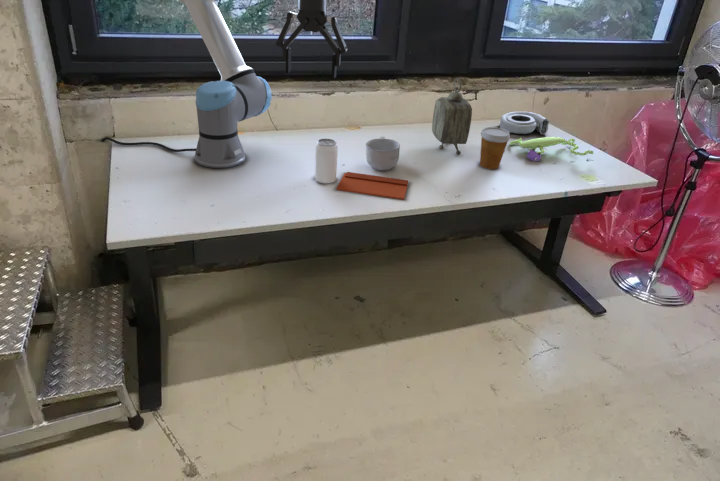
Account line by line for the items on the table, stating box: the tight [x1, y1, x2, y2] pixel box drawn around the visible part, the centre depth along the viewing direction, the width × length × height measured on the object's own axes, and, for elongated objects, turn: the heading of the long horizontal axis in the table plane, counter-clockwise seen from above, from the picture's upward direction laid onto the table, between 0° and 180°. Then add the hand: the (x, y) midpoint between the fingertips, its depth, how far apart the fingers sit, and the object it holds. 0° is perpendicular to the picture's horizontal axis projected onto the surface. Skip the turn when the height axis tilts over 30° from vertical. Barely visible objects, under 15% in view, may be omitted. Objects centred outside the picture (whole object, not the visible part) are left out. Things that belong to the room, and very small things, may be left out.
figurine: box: [509, 136, 594, 162], centre depth 193 cm, size 18×27×6 cm
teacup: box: [365, 136, 401, 171], centre depth 174 cm, size 14×11×8 cm
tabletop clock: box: [431, 77, 473, 156], centre depth 185 cm, size 14×9×25 cm, turn 9°
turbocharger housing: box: [499, 111, 550, 135], centre depth 215 cm, size 17×6×15 cm
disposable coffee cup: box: [479, 126, 511, 170], centre depth 178 cm, size 10×10×12 cm
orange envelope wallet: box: [336, 171, 409, 201], centre depth 161 cm, size 20×12×1 cm, turn 79°
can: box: [314, 138, 338, 185], centre depth 160 cm, size 6×6×12 cm
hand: (311, 74), depth 156 cm, fingers open, 13 cm apart
